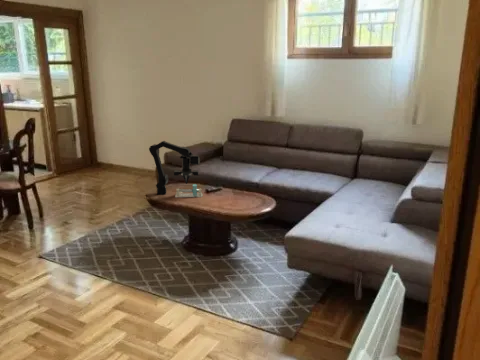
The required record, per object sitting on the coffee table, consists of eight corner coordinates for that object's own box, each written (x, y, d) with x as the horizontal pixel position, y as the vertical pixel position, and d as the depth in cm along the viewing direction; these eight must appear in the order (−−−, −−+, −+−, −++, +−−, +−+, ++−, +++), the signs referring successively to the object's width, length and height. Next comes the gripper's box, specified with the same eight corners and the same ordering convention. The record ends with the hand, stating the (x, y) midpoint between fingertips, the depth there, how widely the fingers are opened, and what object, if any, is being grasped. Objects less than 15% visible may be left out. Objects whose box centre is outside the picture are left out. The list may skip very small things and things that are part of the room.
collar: (192, 194, 321) (192, 186, 319) (193, 192, 325) (192, 184, 324) (196, 194, 321) (196, 186, 319) (196, 192, 326) (196, 184, 324)
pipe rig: (175, 197, 319) (174, 190, 317) (175, 194, 326) (175, 187, 325) (202, 197, 320) (202, 190, 319) (202, 194, 328) (202, 187, 326)
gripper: (172, 166, 310) (173, 186, 314) (197, 166, 311) (198, 186, 315) (174, 163, 321) (174, 182, 325) (198, 163, 322) (198, 182, 326)
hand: (186, 183), depth 322 cm, fingers closed
